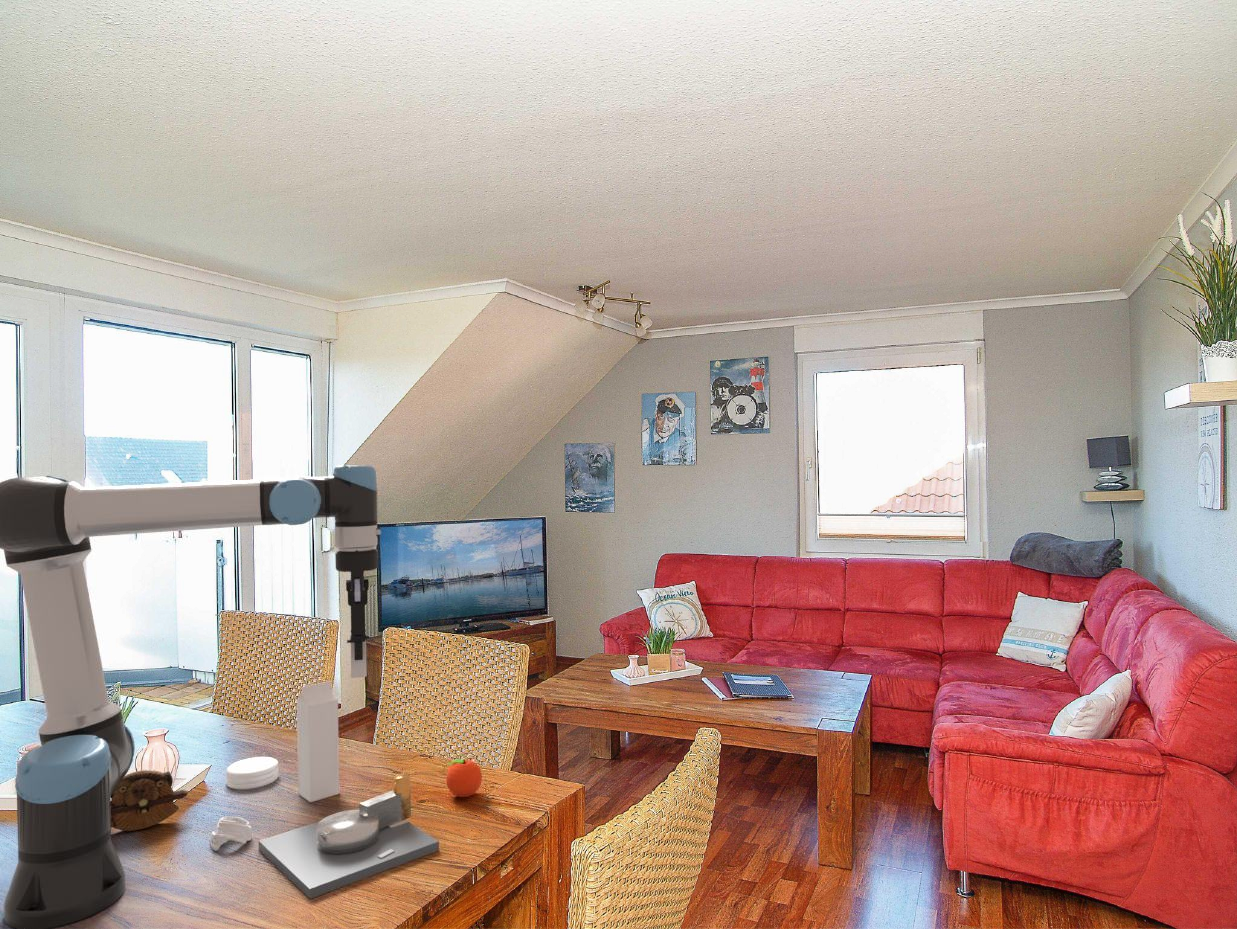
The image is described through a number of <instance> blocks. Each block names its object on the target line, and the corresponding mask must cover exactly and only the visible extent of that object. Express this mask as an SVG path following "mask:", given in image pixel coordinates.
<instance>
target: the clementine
mask: <svg viewBox="0 0 1237 929" xmlns="http://www.w3.org/2000/svg"><path fill="white" fill-rule="evenodd" d="M452 763H453V764H452ZM449 764H452V765H451V766H450V767H449V769H448V771H447V774H446V780H445V781H446V786H447V788H448V791H449V792H450V793H452V795H454V796H456V797H458V798H467V797H470V796H472V795H474V794H475V793H477V791H478V790H479V788H480V787H481V785H482V779H483V775H482V771H481V768H480V766H479V765H478V764H477V763H476V762H475V761H473V760H471V759H455V760H452V761H450V762H449V763H447V764H446V765H445V766H444V769H443V772H444V771H445V769H446V767H447V766H448V765H449Z"/></svg>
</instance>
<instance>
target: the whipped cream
mask: <svg viewBox="0 0 1237 929" xmlns="http://www.w3.org/2000/svg"><path fill="white" fill-rule="evenodd" d="M216 827H217V828H216V831H212V832H211V835H210V841H209V842H210V848H211V849H212V850H213V851H215V852H218V851H220V848H221V847H222V845H223V844H226V843H227V842H228V841H233V842H236V843H240V844H242V845H244V844H245V845H246V844H247V842H248V841H251V840H252V837H251V836H252V835H253V833H252V826H251V825H250V822H249V820H246V819H245V818H242V817H241V816H223V817H221V818H220V819H219V820H218V822H217V824H216Z"/></svg>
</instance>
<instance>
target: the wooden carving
mask: <svg viewBox="0 0 1237 929" xmlns="http://www.w3.org/2000/svg"><path fill="white" fill-rule="evenodd" d="M173 783H174V779H173V775H172V774H171V772H170V771H169V770H168V771H166V772H162V771H158V770H150V769H148V770H147V769H145V770H138V771H133V772H131V773H127V774H126V775H125V776H124V778H123V779H122V780H121V782H120V783H119V785H118V786H117V788H116V789H115V791H114V792H113V794H112V795H111V801H110V806H111V829H112V828H114V829H115V830H119V831H125V832H126V831H127V832H128V831H129V832H130V831H133V832H134V831H139V830H143V829H146V828H147V829H148V828H150V827H153V826H155V825H157V824H160V823H162V822H164V821H165V820H167V819H169V818H170V817H171V816H172V815H174V814H175V813H177V812H178V811H179V808H180V805H179V804H176V803H175V802H174V801H176V800H180V799H184V798H186V797H187V796H188V794H189V791H188V790H185V789H181V790H175V791H174V789H173V788H172V786H173Z"/></svg>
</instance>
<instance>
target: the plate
mask: <svg viewBox="0 0 1237 929" xmlns="http://www.w3.org/2000/svg"><path fill="white" fill-rule="evenodd" d="M357 810H359V808H358V809H357ZM319 822H320V821H317V822H313V823H311V824H307V825H304V826H301V827H297V828H294V829H292V830H289V831H286V832H283V833H279V834H276V835H272V836H270V837H269V836H268V837H267V838H266V837H265V838H263V839H260V840H258V850H259V851H260V852H261V853H262V854H263V855H264V856H265V857H266V858H267V859H268V860H269V861H270V862H271V863H272V864H273V865H274V866H275V867H277V869H278V870H279V871H280V872H281V873H282V874H283V875H285V877H286V878H288V879H289V881H291V882H292V883H293V884H294V885H295V886H296V887H297V888H298V889H299V890H300V891H301V892H302V893H303V894H304V895H305V896H306V897H307V898H308V899H309V900H311V899H313V898H316V897H318V896H321V895H325V894H326V893H329V892H331V891H335V890H337V889H340V888H342V887H345V886H348V885H350V884H353V883H355V882H358V881H361V880H363V879H366V878H369V877H371V876H375V875H377V874H380V873H383V872H385V871H388V870H390V869H392V868H393V869H394V868H396V867H398V866H401V865H403V864H406V863H409V862H411V861H414V860H417V859H419V858H423V857H424V856H427V855H430V854H432V853H435V852H438V851H439V850H440V842H439V840H438V839H436V838H434V837H433V836H432V835H430V834H429V833H427V832H425V831H424V830H422V829H421V828H419V827H418V826H416V825H415V824H413V823H411V822H409V820H407V819H405V820H401V821H399V822H397V823H394V824H392V825H389V826H387V827H385V828H382V829H380V830H379V838H378V840H377V841H376V842H375V843H374V844H372V845H371V846H369V847H367V848H365V849H362V850H359V851H356V852H351V853H345V854H330V853H325V852H322V851H321V850H319V849H318V847H317V824H318V823H319Z"/></svg>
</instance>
